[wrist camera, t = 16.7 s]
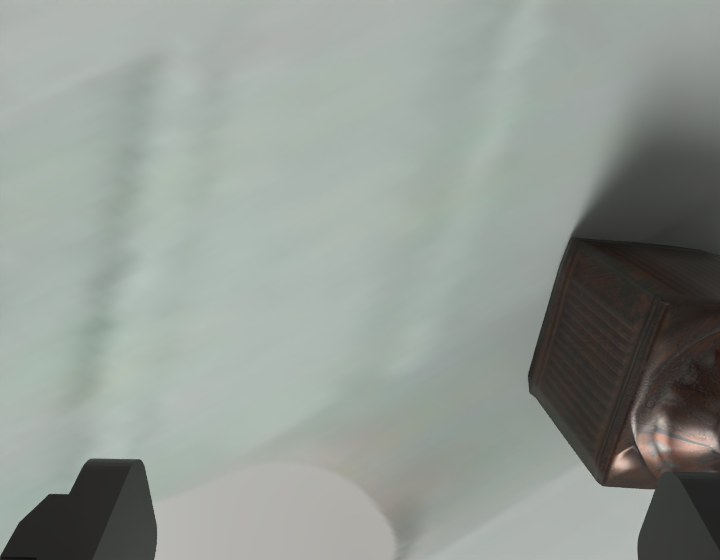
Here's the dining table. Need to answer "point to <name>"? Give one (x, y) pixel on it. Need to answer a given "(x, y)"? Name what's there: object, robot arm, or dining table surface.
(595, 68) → the dining table surface
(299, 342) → the dining table surface
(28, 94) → the dining table surface
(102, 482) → the robot arm
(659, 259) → the manual coffee grinder
